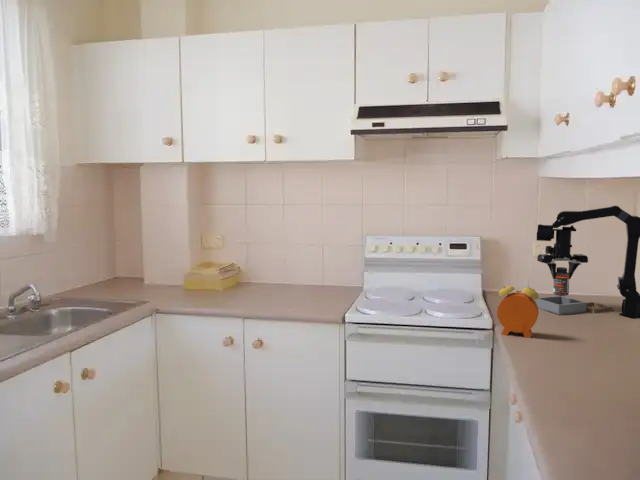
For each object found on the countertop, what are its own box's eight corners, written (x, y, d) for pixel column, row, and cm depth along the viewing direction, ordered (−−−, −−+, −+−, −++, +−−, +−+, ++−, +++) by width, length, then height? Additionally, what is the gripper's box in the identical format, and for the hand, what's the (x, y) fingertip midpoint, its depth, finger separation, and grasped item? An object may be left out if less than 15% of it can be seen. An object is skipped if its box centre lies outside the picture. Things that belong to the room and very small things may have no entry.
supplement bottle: (552, 295, 227) (553, 268, 225) (553, 292, 232) (554, 266, 231) (568, 296, 224) (569, 269, 223) (569, 293, 229) (570, 267, 228)
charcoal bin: (586, 312, 224) (586, 302, 224) (558, 315, 220) (559, 305, 219) (560, 304, 237) (561, 295, 237) (534, 307, 233) (534, 298, 232)
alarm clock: (537, 334, 194) (540, 278, 191) (536, 338, 188) (538, 281, 186) (498, 329, 200) (500, 275, 197) (496, 334, 194) (498, 278, 192)
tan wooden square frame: (612, 310, 226) (612, 307, 226) (593, 312, 223) (594, 309, 223) (593, 305, 236) (593, 302, 235) (575, 307, 232) (575, 303, 232)
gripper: (577, 239, 233) (575, 275, 235) (533, 239, 233) (531, 275, 235) (589, 242, 222) (587, 280, 224) (543, 242, 222) (541, 280, 224)
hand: (561, 279), depth 227 cm, fingers closed on supplement bottle, 6 cm apart
